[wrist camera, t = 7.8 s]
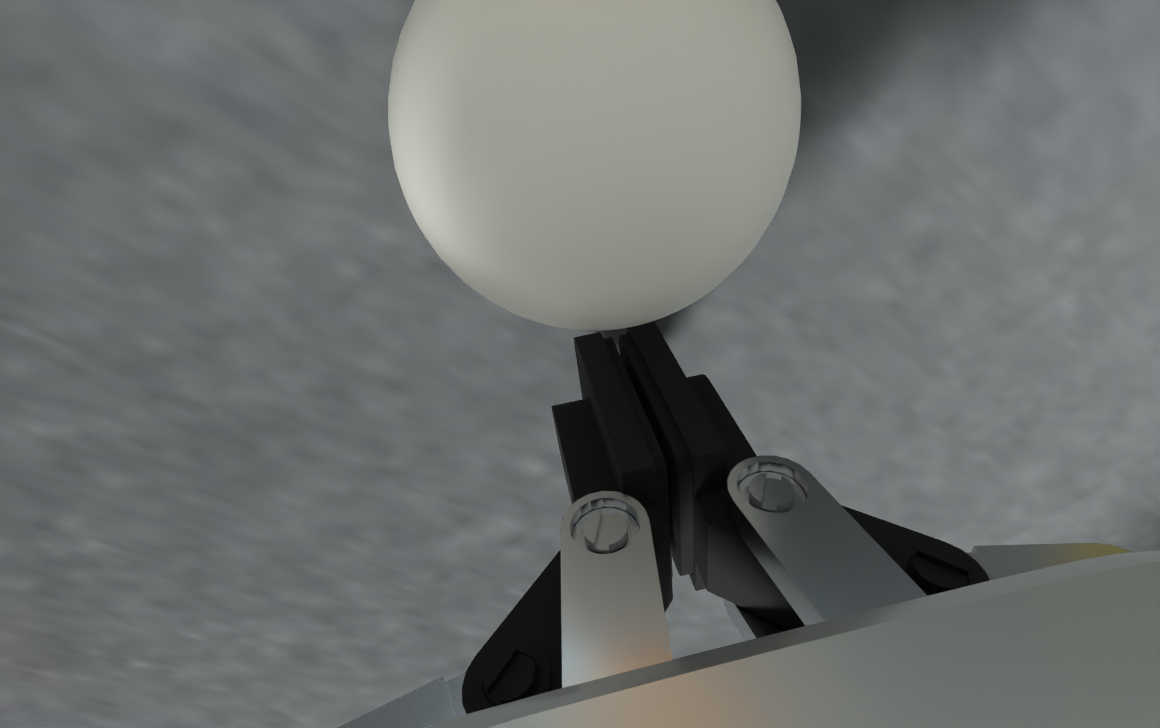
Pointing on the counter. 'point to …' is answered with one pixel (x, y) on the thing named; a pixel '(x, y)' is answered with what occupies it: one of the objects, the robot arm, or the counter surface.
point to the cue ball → (594, 147)
